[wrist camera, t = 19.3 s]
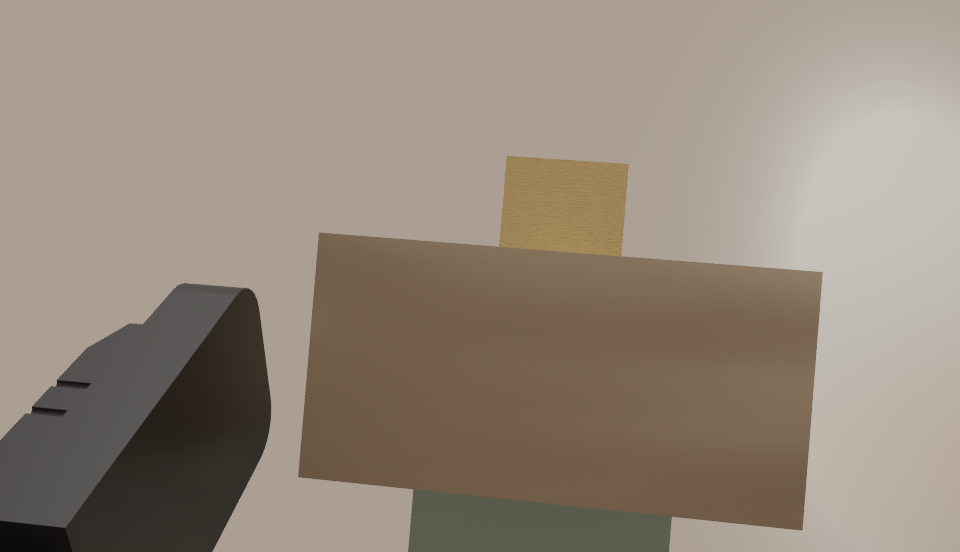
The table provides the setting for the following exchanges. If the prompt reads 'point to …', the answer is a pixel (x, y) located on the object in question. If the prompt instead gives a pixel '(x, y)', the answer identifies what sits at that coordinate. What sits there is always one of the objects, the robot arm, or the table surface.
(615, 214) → the cube
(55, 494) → the robot arm
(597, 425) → the wooden plank
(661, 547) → the shelf stand
